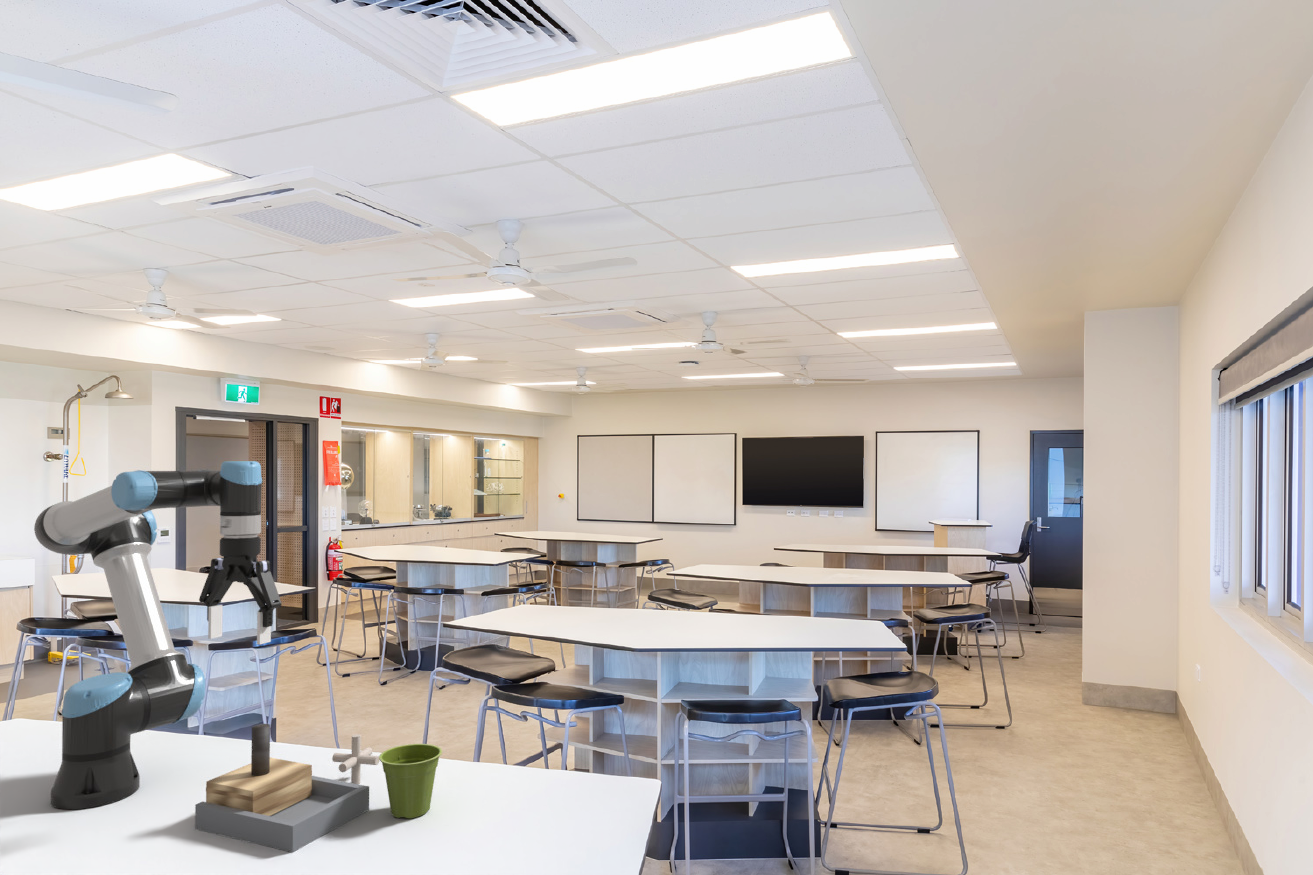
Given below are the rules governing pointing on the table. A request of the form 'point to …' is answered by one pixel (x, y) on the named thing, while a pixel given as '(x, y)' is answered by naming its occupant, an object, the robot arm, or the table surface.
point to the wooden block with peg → (261, 780)
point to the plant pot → (410, 777)
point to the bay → (289, 816)
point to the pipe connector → (355, 759)
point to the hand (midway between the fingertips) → (239, 640)
